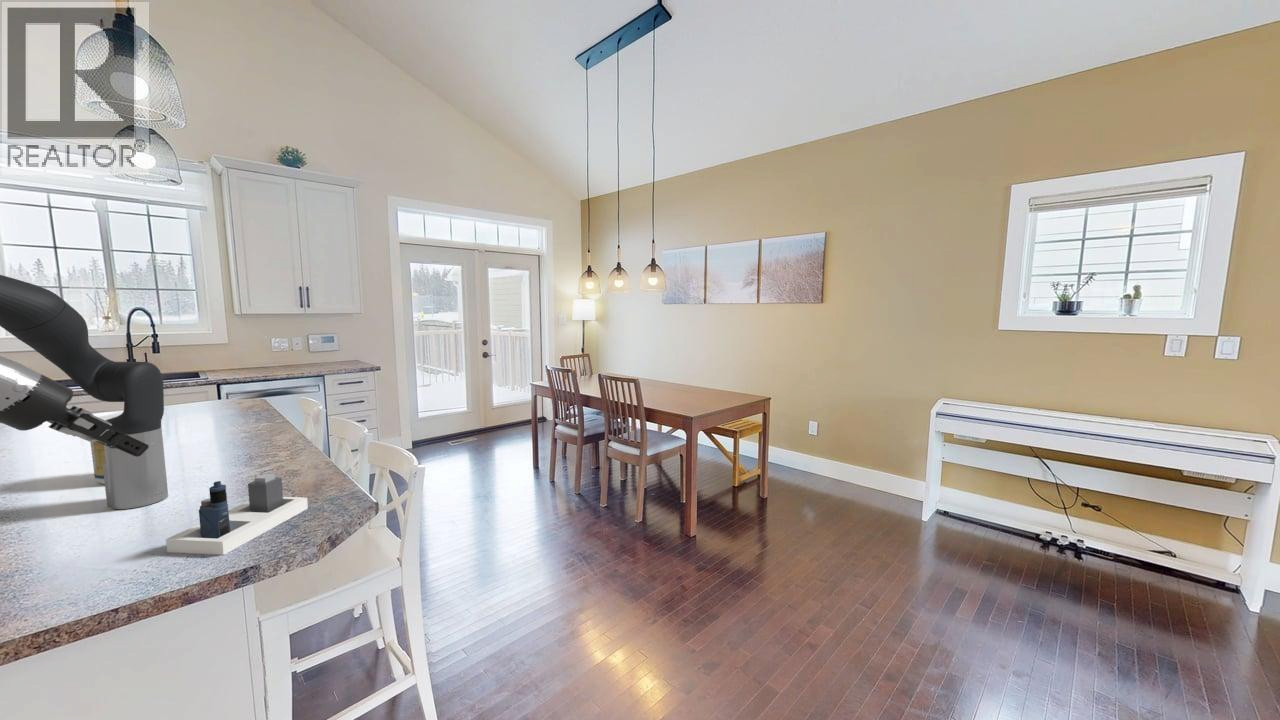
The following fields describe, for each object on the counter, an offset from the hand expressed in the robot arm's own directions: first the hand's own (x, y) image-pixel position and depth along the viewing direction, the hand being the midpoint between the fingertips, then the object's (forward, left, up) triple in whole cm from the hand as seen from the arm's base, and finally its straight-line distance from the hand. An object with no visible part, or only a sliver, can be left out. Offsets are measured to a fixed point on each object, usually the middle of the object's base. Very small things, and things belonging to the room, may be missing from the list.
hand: (131, 447), depth 78 cm
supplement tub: (-53, +41, -23) cm, 71 cm away
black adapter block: (+4, +20, -21) cm, 30 cm away
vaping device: (+4, +9, -22) cm, 24 cm away
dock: (+4, +15, -22) cm, 27 cm away
